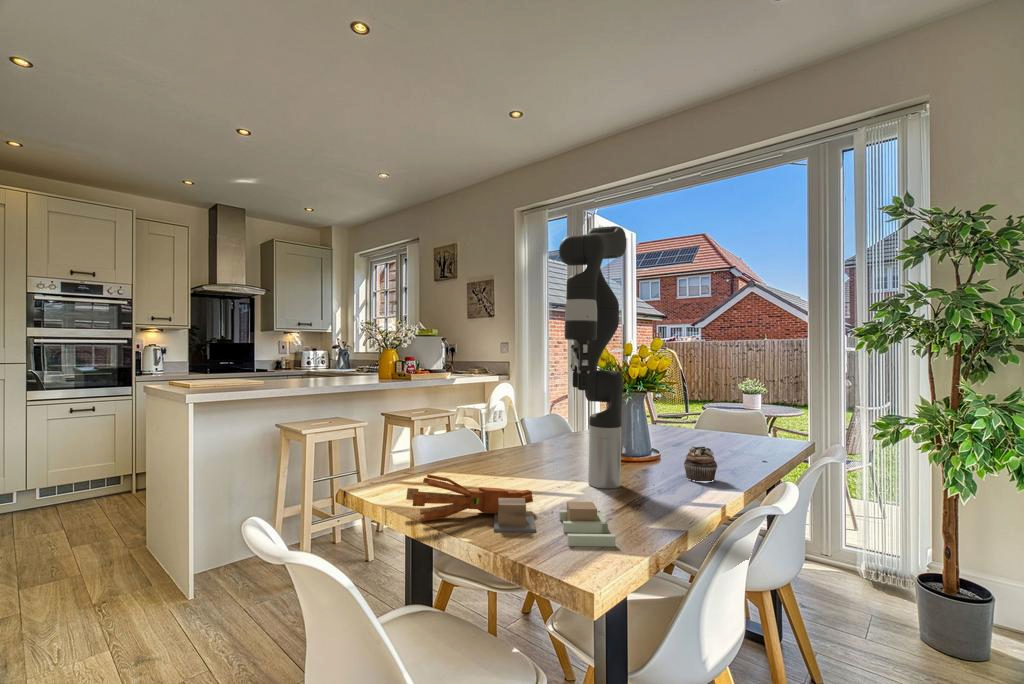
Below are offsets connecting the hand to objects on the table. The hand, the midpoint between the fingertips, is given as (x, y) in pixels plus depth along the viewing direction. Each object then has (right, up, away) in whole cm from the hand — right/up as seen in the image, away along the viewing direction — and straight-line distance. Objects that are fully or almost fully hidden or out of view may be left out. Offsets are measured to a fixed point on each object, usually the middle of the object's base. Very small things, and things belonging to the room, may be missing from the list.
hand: (579, 388), depth 115 cm
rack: (0, -30, -9) cm, 31 cm away
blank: (-16, -29, -6) cm, 34 cm away
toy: (-26, -30, 0) cm, 39 cm away
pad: (-15, -30, -6) cm, 34 cm away
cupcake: (+42, -32, +35) cm, 63 cm away
